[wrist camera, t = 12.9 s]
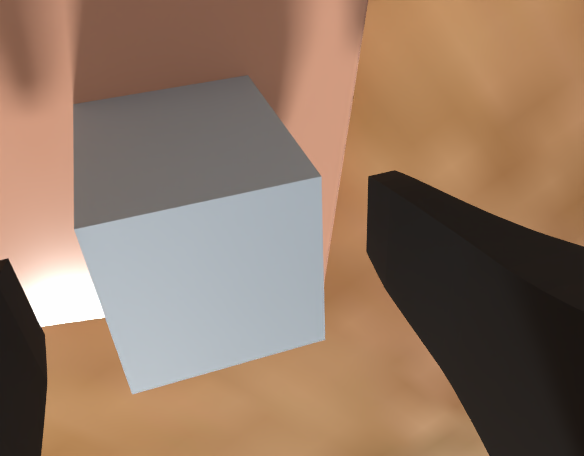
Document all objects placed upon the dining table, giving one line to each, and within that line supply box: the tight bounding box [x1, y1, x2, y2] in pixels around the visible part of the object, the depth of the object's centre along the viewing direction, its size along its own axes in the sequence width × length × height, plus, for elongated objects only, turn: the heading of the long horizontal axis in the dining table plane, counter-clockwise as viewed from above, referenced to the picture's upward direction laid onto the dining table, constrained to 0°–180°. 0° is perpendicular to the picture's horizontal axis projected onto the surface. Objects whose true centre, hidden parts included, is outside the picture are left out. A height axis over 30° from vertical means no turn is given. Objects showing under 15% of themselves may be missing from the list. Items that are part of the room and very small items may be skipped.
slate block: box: [73, 75, 325, 394], centre depth 12 cm, size 4×4×5 cm
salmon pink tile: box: [0, 0, 368, 326], centre depth 14 cm, size 9×9×1 cm
